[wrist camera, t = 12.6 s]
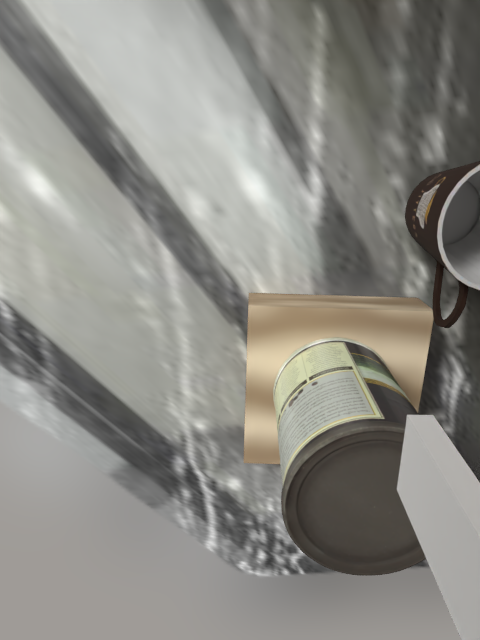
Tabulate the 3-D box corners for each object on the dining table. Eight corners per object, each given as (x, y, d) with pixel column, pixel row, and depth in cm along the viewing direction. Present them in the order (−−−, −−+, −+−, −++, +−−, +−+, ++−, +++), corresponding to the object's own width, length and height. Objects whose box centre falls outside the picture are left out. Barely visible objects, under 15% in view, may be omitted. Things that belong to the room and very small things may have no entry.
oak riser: (248, 293, 41) (248, 305, 37) (417, 297, 41) (434, 311, 37) (244, 438, 46) (243, 462, 42) (395, 443, 45) (408, 468, 42)
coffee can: (403, 342, 38) (487, 438, 24) (379, 448, 41) (441, 585, 28) (279, 329, 38) (295, 418, 24) (265, 437, 41) (271, 568, 28)
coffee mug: (447, 132, 36) (516, 120, 27) (518, 204, 38) (607, 216, 28) (345, 245, 39) (374, 270, 30) (415, 307, 41) (464, 349, 31)
